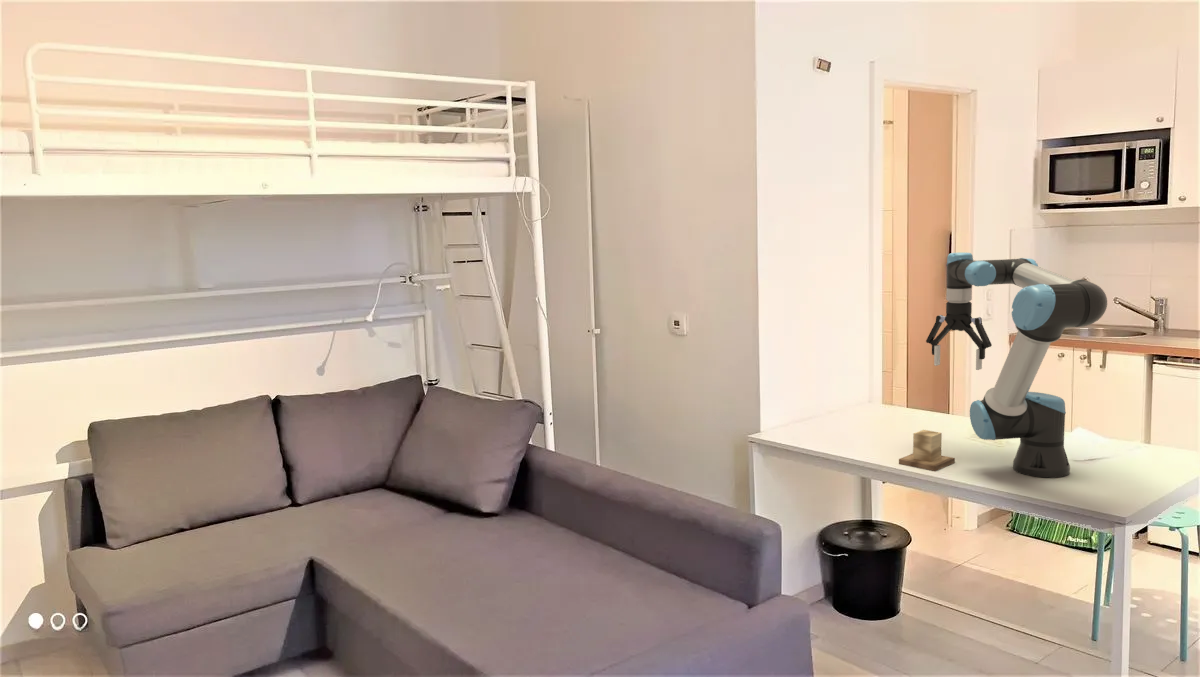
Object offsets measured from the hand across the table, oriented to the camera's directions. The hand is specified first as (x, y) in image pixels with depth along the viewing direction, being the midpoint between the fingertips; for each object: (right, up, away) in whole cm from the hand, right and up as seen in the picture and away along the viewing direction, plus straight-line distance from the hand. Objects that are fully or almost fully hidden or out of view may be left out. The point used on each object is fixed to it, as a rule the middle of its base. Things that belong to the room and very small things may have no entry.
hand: (957, 367), depth 283 cm
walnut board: (-13, -29, -9) cm, 34 cm away
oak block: (-13, -28, -10) cm, 32 cm away
